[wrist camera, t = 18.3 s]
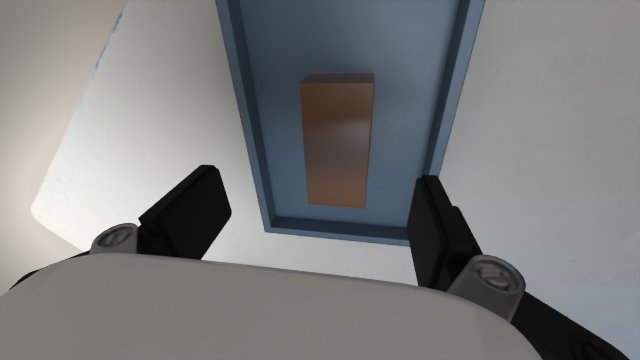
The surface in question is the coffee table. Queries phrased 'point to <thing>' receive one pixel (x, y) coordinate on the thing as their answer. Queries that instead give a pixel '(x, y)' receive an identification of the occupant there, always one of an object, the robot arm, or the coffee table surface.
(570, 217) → the coffee table surface
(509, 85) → the coffee table surface
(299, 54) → the tray
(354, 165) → the eraser
